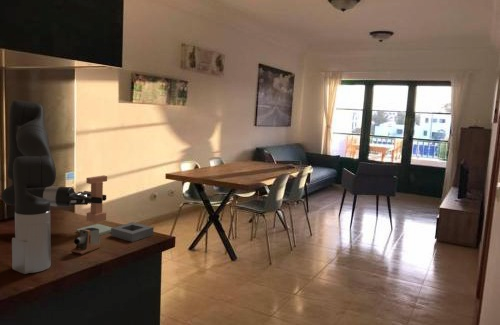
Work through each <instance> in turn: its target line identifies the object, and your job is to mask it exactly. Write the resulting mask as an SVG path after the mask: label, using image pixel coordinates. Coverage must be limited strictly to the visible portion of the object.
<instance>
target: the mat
mask: <svg viewBox="0 0 500 325" xmlns="http://www.w3.org/2000/svg"><path fill="white" fill-rule="evenodd" d="M86 228H97V229H99V237H100V236H103V235H107V234H111V228H113V227H112V226H107V225H104V224H100V223H96V224H95V223H94V224H92V225H89V226H84V227H80V228H77V229H76V232H77V233H79V232H80V230H82V229H86Z"/></svg>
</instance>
